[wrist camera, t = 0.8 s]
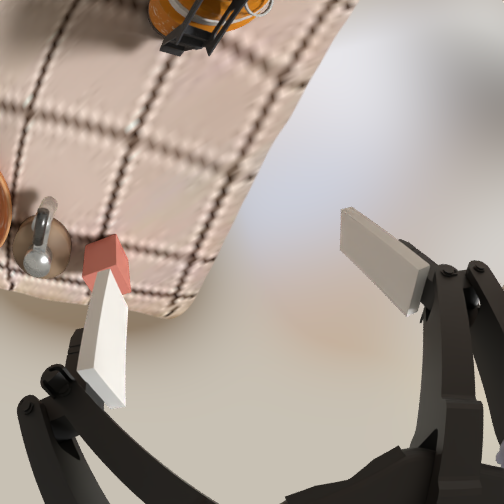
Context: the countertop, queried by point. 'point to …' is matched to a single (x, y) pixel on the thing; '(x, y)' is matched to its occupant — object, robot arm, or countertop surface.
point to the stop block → (106, 262)
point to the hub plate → (56, 242)
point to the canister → (200, 21)
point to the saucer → (4, 210)
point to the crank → (41, 240)
